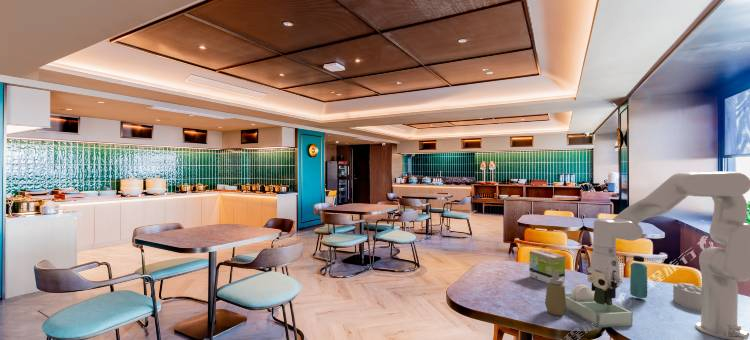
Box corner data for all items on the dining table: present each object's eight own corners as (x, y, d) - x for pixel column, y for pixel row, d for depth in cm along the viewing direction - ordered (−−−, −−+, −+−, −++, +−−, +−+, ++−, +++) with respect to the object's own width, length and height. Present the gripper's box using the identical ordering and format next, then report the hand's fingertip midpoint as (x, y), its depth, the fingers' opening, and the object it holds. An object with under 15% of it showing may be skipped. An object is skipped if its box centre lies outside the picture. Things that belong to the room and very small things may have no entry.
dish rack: (632, 325, 133) (632, 312, 133) (597, 327, 130) (598, 314, 130) (589, 303, 154) (589, 292, 154) (558, 304, 152) (559, 293, 152)
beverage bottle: (650, 302, 156) (651, 258, 156) (634, 300, 158) (634, 257, 158) (642, 296, 163) (643, 255, 163) (626, 295, 164) (627, 254, 164)
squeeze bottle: (547, 307, 149) (547, 266, 149) (568, 312, 144) (568, 270, 144) (542, 313, 143) (543, 270, 142) (564, 319, 137) (565, 274, 137)
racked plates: (595, 307, 147) (595, 286, 147) (576, 308, 145) (577, 287, 145) (589, 304, 150) (590, 284, 150) (571, 305, 149) (571, 285, 149)
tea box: (528, 277, 191) (528, 250, 191) (541, 275, 195) (541, 249, 195) (552, 285, 177) (552, 257, 177) (565, 283, 181) (565, 255, 181)
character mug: (590, 305, 135) (591, 272, 135) (584, 298, 142) (585, 267, 142) (622, 308, 132) (623, 275, 132) (614, 301, 139) (615, 270, 139)
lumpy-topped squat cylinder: (697, 301, 159) (697, 282, 159) (715, 312, 146) (715, 292, 146) (669, 298, 162) (670, 280, 162) (685, 308, 149) (685, 289, 149)
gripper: (631, 255, 129) (630, 302, 129) (595, 245, 146) (594, 286, 146) (614, 256, 128) (612, 303, 128) (579, 245, 145) (578, 287, 145)
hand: (603, 294), depth 137 cm, fingers closed on character mug, 7 cm apart
